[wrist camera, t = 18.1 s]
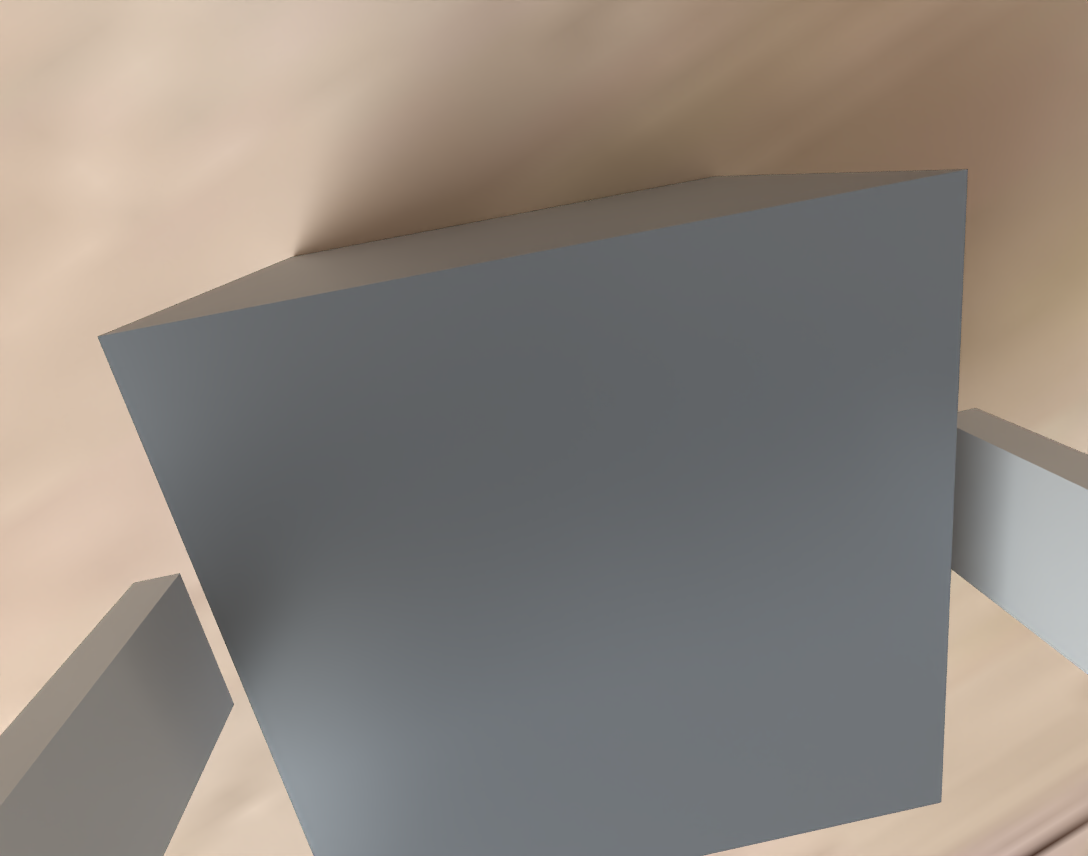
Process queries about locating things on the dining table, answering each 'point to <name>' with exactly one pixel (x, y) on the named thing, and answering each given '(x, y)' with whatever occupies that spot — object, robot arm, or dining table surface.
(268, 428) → the grey square block
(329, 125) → the dining table surface
